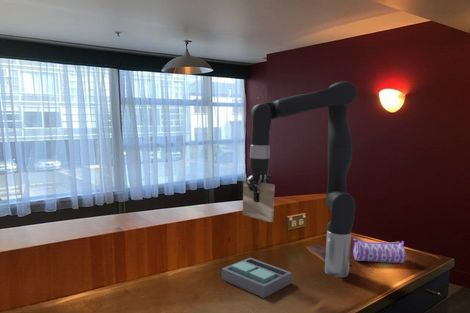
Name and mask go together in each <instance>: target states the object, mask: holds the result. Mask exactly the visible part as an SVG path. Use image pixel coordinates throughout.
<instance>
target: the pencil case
mask: <svg viewBox="0 0 470 313" xmlns="http://www.w3.org/2000/svg"><path fill="white" fill-rule="evenodd" d="M353 241H354V243H353V248H352V254H353V258H354V260H355V261H359V262H374V263H375V262H376V263H393V264H404V263H405V261H406V257H407V254H406V249H405V246H404V244H405V241H403V240H401V242H400V241H398V240H397V241H395V242H373V241H370V242H369V241H363V240H360V239H356V238H354V237H353Z"/></svg>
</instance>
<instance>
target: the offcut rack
mask: <svg viewBox="0 0 470 313" xmlns="http://www.w3.org/2000/svg"><path fill="white" fill-rule="evenodd" d="M242 261H243V262H245V263H248V264H251V265H253V266H256V269H259V268H261V269H264V270H266V271H269V272H272V273H274V274H275V279H273V280H271V281H269V282H267V283H265V284H262V283H260V282H257V281H255V280H252V279H250V278H247V277H245V276H243V275H240V274H238V273H235V272H233V271H231V269H232V265H235V264H237V263H240V262H242ZM292 274H293V273H292V272H290V271H288V270H285V269H283V268H280V267H277V266H274V265H271V264H269V263H266V262H263V261H261V260H258V259H255V258H252V257H248V258H245V259H243V260H241V261H237V262H235V263H233V264H230V265H228V266H225V267H223V268H221V280H222V281H225V282H227V283H228V284H229V283H230V284H232V286H233V285H234V286H236V287H238V288H240V289H242V290H245V291H247V292H249V293H252V294H254V295H256V296H258V297H261V298H262V299H264V298H267V297H268V296H270V295H272V294H274V293H276V292H277V291H280V290H281V289H283V288H285V287H287V286H290V285H291V284H292Z"/></svg>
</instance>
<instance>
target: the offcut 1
mask: <svg viewBox="0 0 470 313" xmlns="http://www.w3.org/2000/svg"><path fill="white" fill-rule="evenodd" d="M241 261H242V260H241ZM239 262H240V261H239ZM236 263H237V262H236ZM234 264H235V263H234ZM231 265H232V264H231ZM254 270H256V266H253V265H251V264H248V263H245V262H243V261H242V262H240V263H237V264H235V265H232V269H231V271H233V272H235V273H238V274H240V275H243V276H245V277H247V278H249V273H250V272H252V271H254Z"/></svg>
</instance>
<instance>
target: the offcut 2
mask: <svg viewBox="0 0 470 313" xmlns="http://www.w3.org/2000/svg"><path fill="white" fill-rule="evenodd" d="M249 278H250V279H252V280H255V281H257V282H260V283H262V284H265V283H267V282H269V281H271V280H273V279H275V274H274V273H272V272H269V271H266V270H264V269H261V268H259V269H256V270H254V271H252V272H250V273H249Z"/></svg>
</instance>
